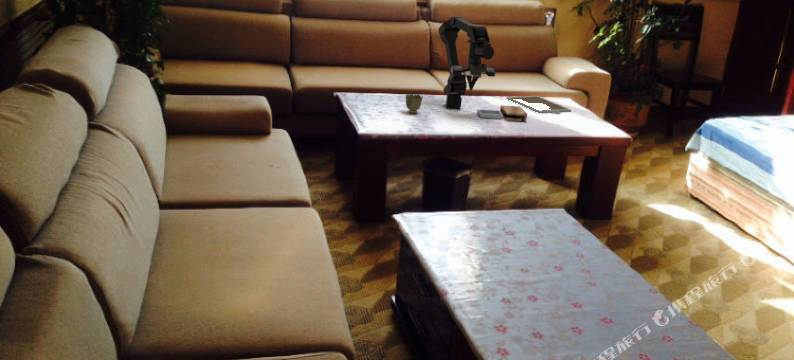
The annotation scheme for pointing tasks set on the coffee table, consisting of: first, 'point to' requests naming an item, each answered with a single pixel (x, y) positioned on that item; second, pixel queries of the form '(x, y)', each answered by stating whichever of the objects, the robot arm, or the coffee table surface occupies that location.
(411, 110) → the cup
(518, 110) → the overhang
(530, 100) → the grey picture frame
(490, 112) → the grey shallow tray
